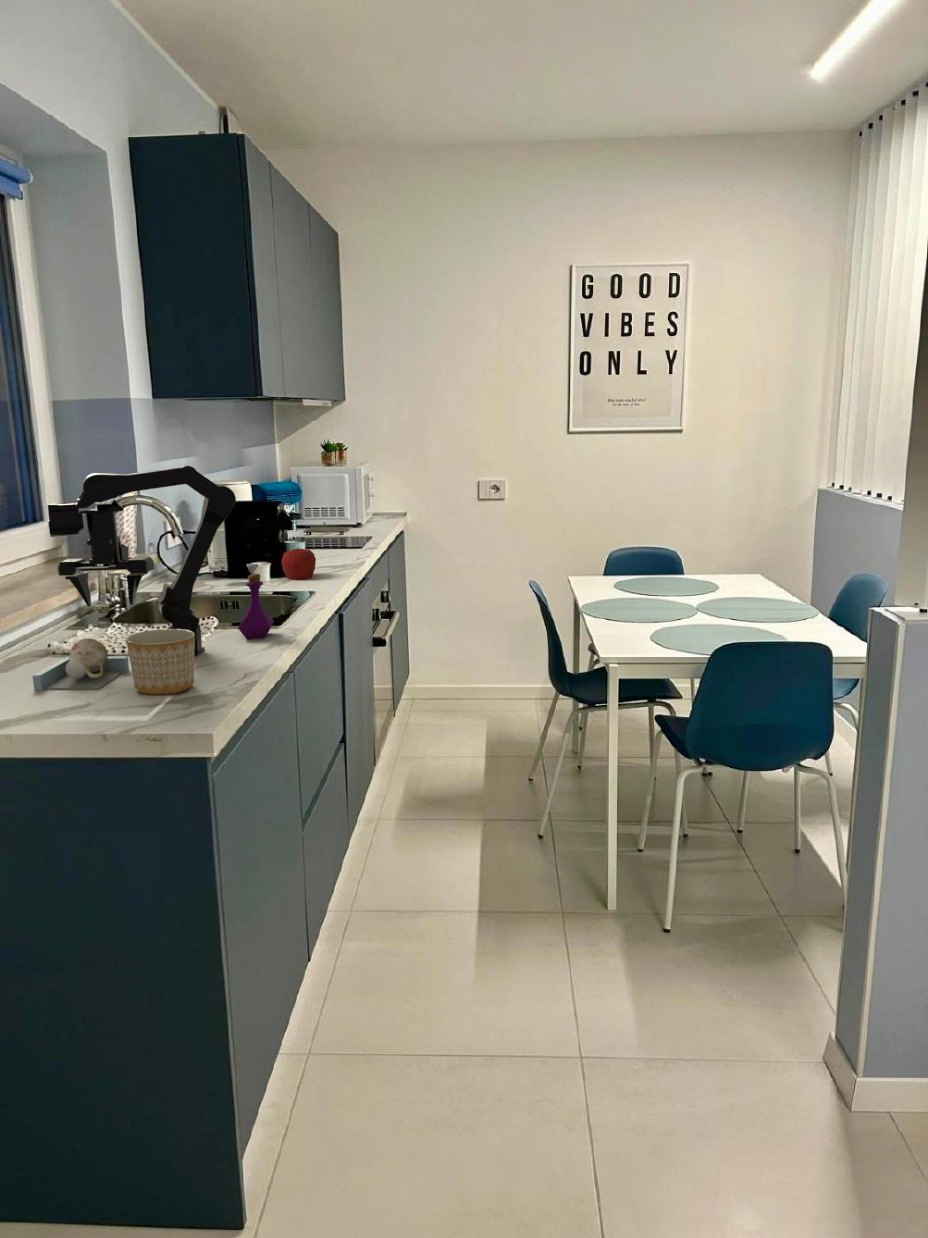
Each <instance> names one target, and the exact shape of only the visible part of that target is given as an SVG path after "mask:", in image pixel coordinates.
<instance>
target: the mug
mask: <svg viewBox="0 0 928 1238" xmlns="http://www.w3.org/2000/svg"><path fill="white" fill-rule="evenodd" d="M69 657H70V658H69V659H70V661H69V662H68V663H67V665H66V668H65V670H66V673H67V674H68V676H70V677H71V678H73V679H80V678H82V677H83V676H84V675H85V674H87V675H88V676H89V677H90V678H98V677H101V676H102V675H103V673H104V671H103V666H104V665H105V663H106V661H107V658H108V657H109V656H108V651H107V648H106V646H105V645H104V644H103V643H102V642H101V641H98V640H96V639H94V638H81V639H79V640H78V641H76V642H75V643H74V644H73V645H72V647H71V649H70V652H69ZM98 670H100V673H98V674H93V673H94V672H96V671H98Z"/></svg>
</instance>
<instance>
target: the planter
mask: <svg viewBox="0 0 928 1238" xmlns="http://www.w3.org/2000/svg"><path fill="white" fill-rule="evenodd" d="M126 646H127V647H126V648H127V652H128V656H129V657H128V659H129V662H130V668H131V673H132V677H133V679H132V680H133V683H134V684H133V685H134V687H135V689H136V690H137V691H138V692H139V693H140V694H144V695H150V696H162V695H163V696H164V695H170V694H171V695H172V694H178V693H181V692H184V691H186V690H188V689H190V688H191V687H192V686H193V684H194V682H195V656H194V649H195V634H194V632H192V631H189V630H183V629H168V628H165V629H164V628H163V629H162V628H161V629H153V630H146V631H145V630H144V631H141V632H137V633H133V634H131V635H129V636H127V637H126Z"/></svg>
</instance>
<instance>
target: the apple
mask: <svg viewBox="0 0 928 1238" xmlns="http://www.w3.org/2000/svg"><path fill="white" fill-rule="evenodd" d="M316 561H317V559H316V555H315V553H314V552H313V551H312V550H310V549H307V548H300V547H299V546H297V548H293V549H290V550H287V551H285V552H284V553H283V555H282V558H281V567H282V571H283V573H284V575H285V576H286V579H288V580H289V581H305V580H309V579H312V577H313V575H314V573H315V570H316Z"/></svg>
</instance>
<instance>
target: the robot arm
mask: <svg viewBox="0 0 928 1238" xmlns="http://www.w3.org/2000/svg"><path fill="white" fill-rule="evenodd" d="M182 485H187V486H189V488H191V489H192V490H194V491H195V492H197V493H198V494H199V495H200V496H202V497H203V498H204V499H203V503H202V509H201V515H200V521H199V523H198V526H197V528H196V531H195V533H194V536H193V538H192V540H191V542H190V544H189V546H188V550H187V551H186V554H185V556H184V558H183V560H182V563H181V565H180V568H179V571H178V573H177V575H176V577H175V579H174V580H173V581H172V583H170V584H168V582H163V586H162V591H161V593H160V595H159V596H158V597H156V598H157V600H158V609H159V611H160V614H161V616H162V618H163V619H164V621H166V622H168V623H171V626H168V628H167V629H183V630H189V631H192V632H194V634H195V649H194V657H196V656H199V655H200V653H202V652H203V651H204V650H205V649H206V648H205V646H203V644H202V628H201V624H200V619H199V617H198V616H197V614H196V612H195V611H193V610H192V609H190V607H191V603H192V597H193V589H194V586H195V583H196V580H197V578H198V576H199V573H200V571H201V569H202V567H203V563H204V562H205V559H206V557H207V555H208V552H209V550H210V548H211V545H212V543H213V541H214V538H215V537H216V533H217V531H218V529H219V527H221V525H222V524H223V523H224V521H225V520H226V519H227V517H228V516H229V515H230V513H231V511H232V510H233V508H234V507H235V505H236V501H237V498H236V495H235V493H234V491H233V490H232V489H231V488H230V487H228V486H226V485H223V484H216V483H214V482H213V481H212V480H210V479H209V478H207V477H206V476H205V475H203V474H201V473H200V472H199V471H198V470H197V469H196V468H194V466H191V465H187V464H184V465H181V466H177V467H171V468H163V469H157V470H155V469H154V470H149V471H142V472H141V471H140V472H135V473H128V474H126V473H108V472H107V473H104V472H103V473H101V472H100V473H99V472H94V473H90V474H88V475H87V476H85V478H84V480H83V482H82V490H83V491H82V492H81V493H80V495H79V497H78V498H76V501H75V503H63V504H59V503H49V504H47V512H48V521H47V523H48V529H49V536H50V538H54V537H55V538H57V537H71V536H80V532H82V531H84V530H85V526H84V516H83V514H85V518H86V519H85V520H86V527H87V535H88V537H87V538H88V539H87V540H86V544H87V546H89V551H90V552H89V553H90V559H88V561H86V559H85V558H83V557H82V558H67V559H63V560H62V561H60V562H58V565H57V574H58V576H59V577H60V576H62V577H63V576H64V579H65V580H69V582H71V584H72V585H73V587H74V588H75V589H76V590H77V592H78V594H79V595H80V597H81V599H83V602H84V603H85V605H86V606H87V607H91V606H92V598H91V597H92V596H91V591H90V585H89V581H88V580H89V572H90V571H94V572H95V571H97V572H98V571H120V570H122V571H128V572H129V574H127V575H126V583H127V592H128V601H129V605H130V606H134V605H135V602H136V601H135V600H136V597H137V593H138V588H139V585H140V583H141V580H142V578H143V577H144V576H145V575H148V574H149V572H151V571H153V570H155V562H154V559H153V558H152V556H133V557H132V558H129V555H130V554H129V553H130V552H129V549H130V547H129V546H127V545H125V544H123V543H122V542H121V538H120V535H118V530H117V521H116V514H115V513H116V512H123V511H124V507H123V506H122V505H121V504H119V503H118V502H117V500H116V499H115V498H118V497H120V496H124V495H126V494H130V493H132V492H140V491H146V490H155V489H160V488H169V487H175V486H182ZM109 500H112V501H111V502H110V503H104V502H107V501H109ZM95 503H98V504H96V508H91V509H89V507H91V506H92V505H93V504H95ZM205 651H206V650H205Z"/></svg>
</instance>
